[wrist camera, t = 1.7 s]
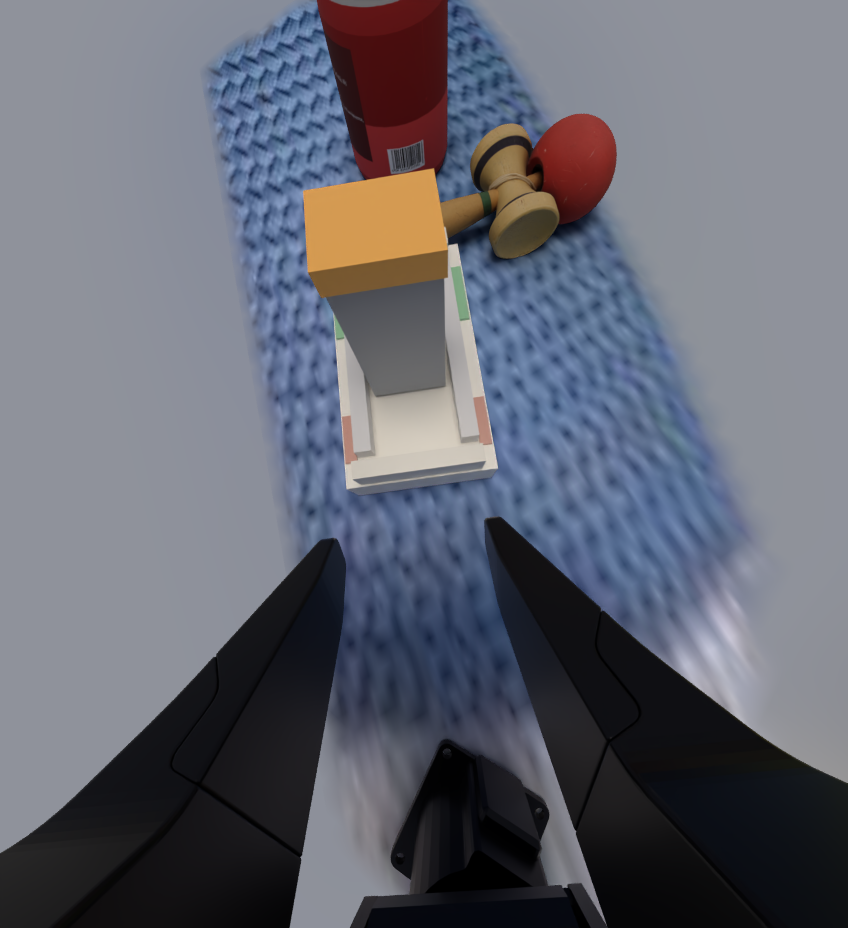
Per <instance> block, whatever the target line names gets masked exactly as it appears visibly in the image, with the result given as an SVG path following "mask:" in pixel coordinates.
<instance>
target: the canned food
mask: <svg viewBox="0 0 848 928" xmlns="http://www.w3.org/2000/svg"><path fill="white" fill-rule="evenodd" d="M317 4H318V9H319V14H320V18H321V22H322V26H323V30H324V34H325V38H326V42H327V46H328V50H329V54H330V58H331V62H332V66H333V70H334V74H335V79H336V83H337V87H338V91H339V95H340V99H341V103H342V107H343V111H344V115H345V119H346V123H347V127H348V131H349V135H350V139H351V144H352V148H353V152H354V156H355V160H356V163H357V165H358V167H359V169H360V171H361V173H362V174H363V176H364V178H365V179H366V180H369V179H375V178H381V177H387V176H393V175H398V174H404V173H410V172H416V171H422V170H428V169H433V168H434V172H435V174H436V173H437V172H438V171H439V169H440V168H441V166H442V164H443V160H444V157H445V153H446V149H447V49H448V0H317Z"/></svg>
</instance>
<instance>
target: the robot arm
mask: <svg viewBox="0 0 848 928" xmlns="http://www.w3.org/2000/svg"><path fill="white" fill-rule="evenodd" d="M484 527H485V544H486V550H487V555H488V559H489V564H490V569H491V574H492V578H493V583H494V588H495V593H496V597H497V601H498V605H499V608H500V612H501V615H502V618H503V621H504V624H505V627H506V629H507V632H508V635H509V638H510V641H511V644H512V647H513V650H514V653H515V656H516V659H517V662H518V665H519V668H520V671H521V674H522V677H523V680H524V682H525V685H526V688H527V691H528V694H529V697H530V700H531V703H532V706H533V709H534V712H535V715H536V718H537V721H538V724H539V727H540V730H541V733H542V735H543V738H544V741H545V744H546V747H547V750H548V753H549V756H550V759H551V762H552V765H553V768H554V771H555V774H556V777H557V780H558V783H559V786H560V788H561V791H562V794H563V797H564V800H565V803H566V806H567V809H568V812H569V815H570V818H571V821H572V824H573V827H574V829H575V831H576V836H577V839H578V842H579V845H580V848H581V851H582V854H583V857H584V859H585V862H586V865H587V868H588V871H589V874H590V877H591V880H592V883H593V886H594V889H595V892H596V895H597V898H598V901H599V904H600V907H601V909H602V912H603V915H604V918H605V921H606V924H607V926H606V924H605V922H604V921H603V919H602V917H601V915H600V914H599V912H598V910H597V909H596V907H595V905H594V904H593V902H592V900H591V899H590V897H589V895H588V894H587V892H586V890H585V888H584V887H583V885H582V884H581V883H575V884H568V888H562V886H561V885H555V886H548V883H547V880H546V876H545V873H544V869H543V866H542V863H541V859H540V856H539V855H540V853H541V850H542V847H541V843H540V840H541V838H542V835H543V833H544V830H545V827H546V825H547V822H548V820H549V810H548V808H547V805H546V803H545V801H544V800H543V799H542V798H540V797H538V796H537V795H535V794H534V793H532V792H531V791H529V790H528V789H526V788H524V787H523V785H522V782H521V780H520V779H518V778H517V777H515V776H513V775H512V774H510V773H509V772H507V771H506V770H504V769H502V768H501V767H499V766H498V765H496V764H495V763H493V762H491V761H490V760H488V759H487V758H485V757H484V756H482V755H478V756H474V755H473V754H471V753H470V752H468V751H466V750H465V749H463V748H462V747H460V746H459V745H457V744H455V743H454V742H452V741H451V740H448V739H447V740H443V741H441V743H440V744H439V746H438V748H437V750H436V753H435V755H434V757H433V759H432V761H431V764H430V766H429V768H428V770H427V772H426V775H425V777H424V779H423V781H422V783H421V786H420V788H419V790H418V792H417V794H416V797H415V799H414V801H413V803H412V805H411V808H410V810H409V812H408V814H407V816H406V819H405V821H404V823H403V825H402V827H401V830H400V832H399V834H398V836H397V838H396V841H395V843H394V845H393V848H392V852H391V863H392V865H393V867H394V868H395V869H397V870H398V871H399V872H401V873H402V874H403V875H405V876H406V877H408V878H409V879H410V880H411V883H410V893H409V895H393V896H366V897H364V899H363V901H362V903H361V905H360V908H359V910H358V912H357V914H356V916H355V918H354V920H353V922H352V924H351V927H350V928H848V783H846V782H843V781H841V780H839V779H837V778H835V777H833V776H830V775H828V774H826V773H824V772H822V771H820V770H817V769H815V768H813V767H811V766H809V765H808V764H806V763H804V762H802V761H800V760H798V759H796V758H795V757H793V756H791V755H790V754H788V753H786V752H785V751H783V750H781V749H780V748H778V747H776V746H775V745H773V744H772V743H770V742H769V741H767V740H766V739H764V738H763V737H762V736H760V735H759V734H757V733H756V732H755V731H753V730H752V729H751V728H749V727H748V726H747V725H745V724H744V723H743V722H741V721H740V720H739V719H737V718H736V717H735V716H733V715H732V714H731V713H730V712H728V711H727V710H726V709H724V708H723V707H722V706H720V705H719V704H718V703H717V702H715V701H714V700H713V699H711V698H710V697H709V696H707V695H706V694H705V693H703V692H702V691H701V690H700V689H698V688H697V687H696V686H694V685H693V684H692V683H690V682H689V681H688V680H687V679H685V678H684V677H683V676H681V675H680V674H679V673H677V672H676V671H675V670H674V669H672V668H671V667H670V666H668V665H667V664H666V663H665V662H663V661H662V660H661V659H660V658H658V657H657V656H656V655H655V654H653V653H652V652H651V651H650V650H648V649H647V648H646V647H645V646H643V645H642V644H641V643H640V642H639V641H637V640H636V639H635V638H634V637H633V636H632V635H631V634H629V633H628V632H627V631H626V630H625V629H624V628H623V627H621V626H620V625H619V624H618V623H617V622H616V621H615V620H614V619H612V618H611V617H610V616H609V615H608V614H607V613H606V612H605V611H601V608H600V607H599V606H598V605H597V604H596V603H595V602H594V601H593V600H592V599H590V598H589V597H588V596H587V595H586V594H585V593H584V592H583V591H582V590H581V589H579V588H578V587H577V586H576V585H575V584H574V583H573V582H572V581H571V580H570V579H568V578H567V577H566V576H565V575H564V574H563V573H562V572H561V571H560V570H559V569H558V568H556V567H555V566H554V565H553V564H552V563H551V562H550V561H549V560H548V559H547V558H545V557H544V556H543V555H542V554H541V553H540V552H539V551H538V550H537V549H536V548H534V547H533V546H532V545H531V544H530V543H529V542H528V541H527V540H526V539H525V538H524V537H522V536H521V535H520V534H519V533H518V532H517V531H516V530H515V529H514V528H513V527H511V526H510V525H509V524H508V523H507V522H506V521H505V520H504V519H503V518H501V517H499V516H498V517H490V518H486V519H485V520H484ZM345 577H346V561H345V558H344V555H343V552H342V550H341V547H340V544H339V542H338V540H337V539H336V538H329V539H322V540H320V541H319V542H318V543H317V544H316V545H315V546H314V547H313V548H312V549H311V551H310V552H309V553H308V554H307V555H306V556H305V557H304V558H303V559H302V560H301V562H300V563H299V564H298V565H297V566H296V567H295V568H294V569H293V570H292V571H291V573H290V574H289V575H288V576H287V577H286V578H285V579H284V581H282V582H281V584H280V585H279V586H278V587H277V588H276V589H275V590H274V591H273V592H272V594H271V595H270V596H269V597H268V598H267V599H266V600H265V601H264V602H263V603H262V605H261V606H260V607H259V608H258V609H257V610H256V611H255V612H254V613H253V614H252V615H251V616H250V618H249V619H248V620H247V621H246V622H245V623H244V624H243V625H242V626H241V628H240V629H239V630H238V631H237V632H236V633H235V634H234V635H233V636H232V637H231V638H230V640H229V641H228V642H227V643H226V644H225V645H224V646H223V647H222V648H221V649H220V651H219V652H218V653H217V654H216V657H213V658H212V659H211V660H210V661H209V662H208V664H207V665H206V666H205V667H204V668H203V669H202V670H201V671H200V673H198V674H197V676H196V677H195V678H194V679H193V680H192V681H191V682H190V683H189V684H188V685H187V686H186V687H185V688H184V689H183V690H182V691H181V693H180V694H179V695H178V696H177V697H176V698H175V699H174V700H173V701H172V702H171V703H170V704H169V705H168V706H167V707H166V708H165V709H164V710H163V711H162V712H161V713H160V714H159V715H158V716H157V717H156V718H155V719H154V720H153V721H152V722H151V723H150V724H149V725H148V726H147V727H146V728H145V729H144V730H143V731H142V732H141V733H140V734H138V736H136V737H135V738H134V739H133V740H132V741H131V742H130V743H129V744H128V745H127V746H126V747H125V748H124V749H123V750H122V751H121V752H120V753H119V754H118V755H117V756H116V757H115V758H114V759H113V760H112V761H111V762H110V763H109V764H108V765H107V766H105V768H104V769H103V770H101V772H99V773H98V774H97V775H96V776H95V777H94V778H93V779H92V780H91V781H90V782H89V783H88V784H87V785H86V786H85V787H84V788H83V789H82V790H81V791H80V792H79V793H78V794H77V795H76V796H75V797H73V798H72V799H71V800H70V801H69V802H68V803H67V804H66V805H65V806H64V807H63V808H62V809H60V810H59V811H58V812H57V813H56V814H55V815H53V816H52V817H51V818H50V819H49V820H47V821H46V822H45V823H44V824H42V825H41V826H40V827H38V828H37V829H36V830H34V831H33V832H32V833H30V834H29V835H28V836H26V837H25V838H23V839H22V840H20V841H19V842H17V843H16V844H14V845H13V846H11V847H10V848H8V849H7V850H5V851H3V852H1V853H0V928H289V927H290V922H291V916H292V910H293V905H294V899H295V893H296V888H297V882H298V876H299V871H300V864H301V858H300V857H301V856H302V852H303V847H304V840H305V835H306V829H307V823H308V818H309V812H310V807H311V801H312V795H313V790H314V784H315V778H316V773H317V767H318V761H319V755H320V750H321V744H322V738H323V733H324V727H325V721H326V716H327V710H328V704H329V699H330V693H331V687H332V681H333V676H334V670H335V664H336V659H337V653H338V647H339V642H340V636H341V630H342V623H343V609H344V593H345ZM446 748H447V749H450V751H451V753H450V754H448V755H446V754H444V752H443V750H444V749H446ZM537 808H541V809H542V812H541V813H539V814H538V813H535V810H536V809H537ZM397 853H402V854H403V855H404V857H402V858H400V857H398V856H397Z"/></svg>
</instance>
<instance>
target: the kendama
mask: <svg viewBox="0 0 848 928" xmlns="http://www.w3.org/2000/svg"><path fill="white" fill-rule="evenodd" d="M616 156H617V153H616V144H615V139H614V136H613V134H612V132H611V130H610V128H609V127H608V126H607V125H606V123H605V122H603V121H602V120H601V119H600V118H598V117H596V116H593V115H589V114H575V115H571V116H568V117H566V118H563V119H562V120H560V121H558V122H557V123H555V124H554V125H553V126H552V127H550V128H549V129H548V130H547V131H546V132H545V133H544V135H543V136H542V137H541V138H540V140H539V141H538V143H537V144H536V146H535V148H534V149H533V148H532V143H531V141H530V138H529V136H528V134H527V132H526V130H525V129H524V128H523V127H522V126H520V125H517V124H504V125H501V126H499V127H497V128H495V129H493V130H492V131H491V132H489V133H488V134H487V135H486V136H485V137H484V138H483V139H482V140H481V141H480V143H479V144H478V145H477V147H476V149H475V151H474V153H473V155H472V158H471V163H470V170H471V175H472V180H473V183H474V185H475V187H476V188H477V189H478V190H480V191H481V193H476V194H472V195H468V196H464V197H460V198H456V199H452V200H449V201H445V202H442V203H440V207H441V212H442V218H443V224H444V227H446V233H447V238H450V237H451V236H453V235H455V234H457V233H459V232H461V231H462V230H464V229H466V228H467V227H469V226H471V225H473V224H474V223H476V222H477V221H479V220H481V219H483V218H484V217H486V216H487V215H489V214H491V213H492V212H494V211H496V218H495V220H494V222H493V224H492V226H491V228H490V231H489V240H490V242H491V245H492V248H493V250H494V253H495V254H496V256H498V257H500V258H503V259H512V258H516V257H519V256H523V255H526V254H528V253H530V252H532V251H533V250H535V249H536V248H538V247H539V246H541V245H542V244H543V243H544V242H545V241H546V240H547V239H548V238H549V237H550V236H551V235H552V233H553V232H554V231H555V229H556V227H557V225H558V224H566V223H570V222H573V221H576V220H578V219H580V218H582V217H583V216H585V215H586V214H587V213H589V212H590V211H591V210H592V209H593V208H594V207H596V205H597V204H598V203H599V202H600V200H601V199H602V198H603V196H604V195H605V193H606V191H607V189H608V188H609V186H610V184H611V181H612V178H613V175H614V172H615V167H616Z"/></svg>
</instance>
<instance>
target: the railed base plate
mask: <svg viewBox="0 0 848 928" xmlns="http://www.w3.org/2000/svg"><path fill="white" fill-rule="evenodd" d="M444 230H445V236H446V241H447V247H448V278H444V288H445V373H446V386H440V387H433V388H426V389H420V390H413V391H406V392H399V393H392V394H386V395H379V396H375V395H374V393H373V391H372V389H371V387H370V385H369V383H368V381H367V379H366V377H365V375H364V373H363V371H362V369H361V367H360V365H359V363H358V361H357V359H356V357H355V355H354V353H353V351H352V349H351V347H350V345H349V343H348V341H347V339H346V337H345V335H344V333H343V331H342V329H341V327H340V325H339V323H338V321H337V319H336V317H335V315H334V327H335V341H336V354H337V367H338V381H339V394H340V407H341V420H342V434H343V447H344V460H345V474H346V487H347V489H348V490H350V491H351V492H353V493H355V494H357V495H359V496H360V495H367V494H375V493H382V492H389V491H397V490H404V489H411V488H419V487H426V486H433V485H441V484H448V483H455V482H463V481H470V480H477V479H485V478H492V476H493V475H494V473H495V472H496V470H497V469H498V466H497V460H496V455H495V449H494V443H493V438H492V432H491V427H490V421H489V416H488V410H487V405H486V399H485V394H484V388H483V383H482V377H481V372H480V366H479V360H478V355H477V349H476V344H475V338H474V333H473V327H472V322H471V316H470V311H469V305H468V300H467V294H466V289H465V283H464V278H463V272H462V266H461V261H460V255H459V250H458V244H454V245H448V238H447V233H446V227H444ZM333 314H334V313H333Z"/></svg>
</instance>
